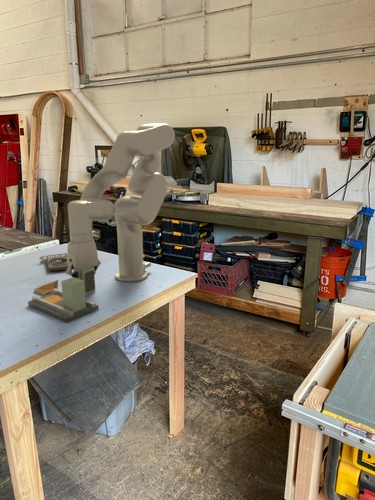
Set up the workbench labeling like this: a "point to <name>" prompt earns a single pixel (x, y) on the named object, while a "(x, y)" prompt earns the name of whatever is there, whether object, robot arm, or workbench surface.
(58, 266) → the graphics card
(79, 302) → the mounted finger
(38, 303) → the dark grey tray
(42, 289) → the shard
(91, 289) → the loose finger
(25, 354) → the workbench surface
